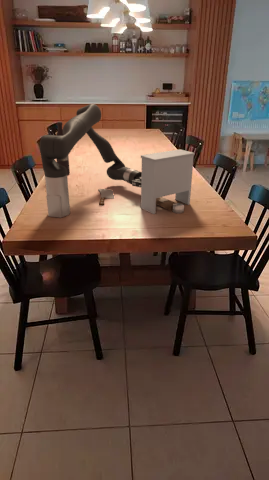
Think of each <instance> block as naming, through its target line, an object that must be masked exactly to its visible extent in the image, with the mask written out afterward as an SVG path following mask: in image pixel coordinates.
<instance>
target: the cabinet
mask: <svg viewBox="0 0 269 480" xmlns="http://www.w3.org/2000/svg"><path fill="white" fill-rule="evenodd" d="M195 154H196V153H195V152H194V151H188V150H184V149H175V150H174V149H173V150H168V151H159V152H154V153H153V152H152V153H148V154H141V155H140V159H141V172H142V175H141V187H140V188H141V191H140V193H141V194H140V196H141V197H140V209H142V210H144V211H147V212H149V213H150V214H152V215H154V214H156V210H157V208H156V207H157V204H156V198H159V197H163V198H164V197H167V196H170V195H171V196H172V195H174V198H175V199H174V200H176V201H178V202H179V203H182V204H185V205H187V206H189V205H191V195H192V183H193V182H192V179H193V168H194V167H193V166H194V158H195V157H194V156H195Z"/></svg>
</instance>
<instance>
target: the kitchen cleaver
mask: <svg viewBox="0 0 269 480" xmlns="http://www.w3.org/2000/svg"><path fill="white" fill-rule="evenodd" d="M112 190H113V189H109V188H98V190H97V191H98V192H99V193H100V199H99V202H98V204H99V205H98V206H100V205H102V206H105V200H110V199H111V200H114V196H115V194H114V195H113V192H114V190H113V191H112Z"/></svg>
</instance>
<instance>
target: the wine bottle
mask: <svg viewBox="0 0 269 480" xmlns="http://www.w3.org/2000/svg"><path fill="white" fill-rule="evenodd" d="M56 125H57V133H56V135H55V136H63V121H57V122H56ZM56 162H57V163H58V164H60V165H62V166H64V167H66V169H67V176H68V175H70V174H71V173H70V172H71V170H70V159H69V155H68V156H67V157H66V158H64V159H56Z"/></svg>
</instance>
